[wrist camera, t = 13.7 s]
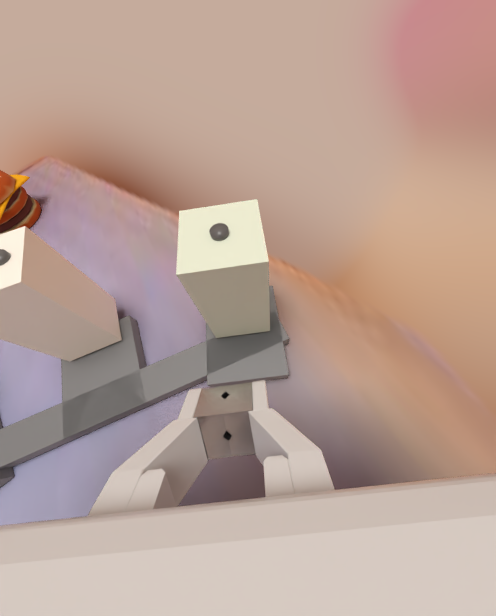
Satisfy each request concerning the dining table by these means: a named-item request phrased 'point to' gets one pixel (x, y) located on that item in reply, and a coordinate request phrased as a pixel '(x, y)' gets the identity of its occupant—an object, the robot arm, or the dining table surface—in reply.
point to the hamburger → (16, 204)
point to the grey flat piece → (139, 384)
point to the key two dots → (51, 301)
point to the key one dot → (226, 267)
